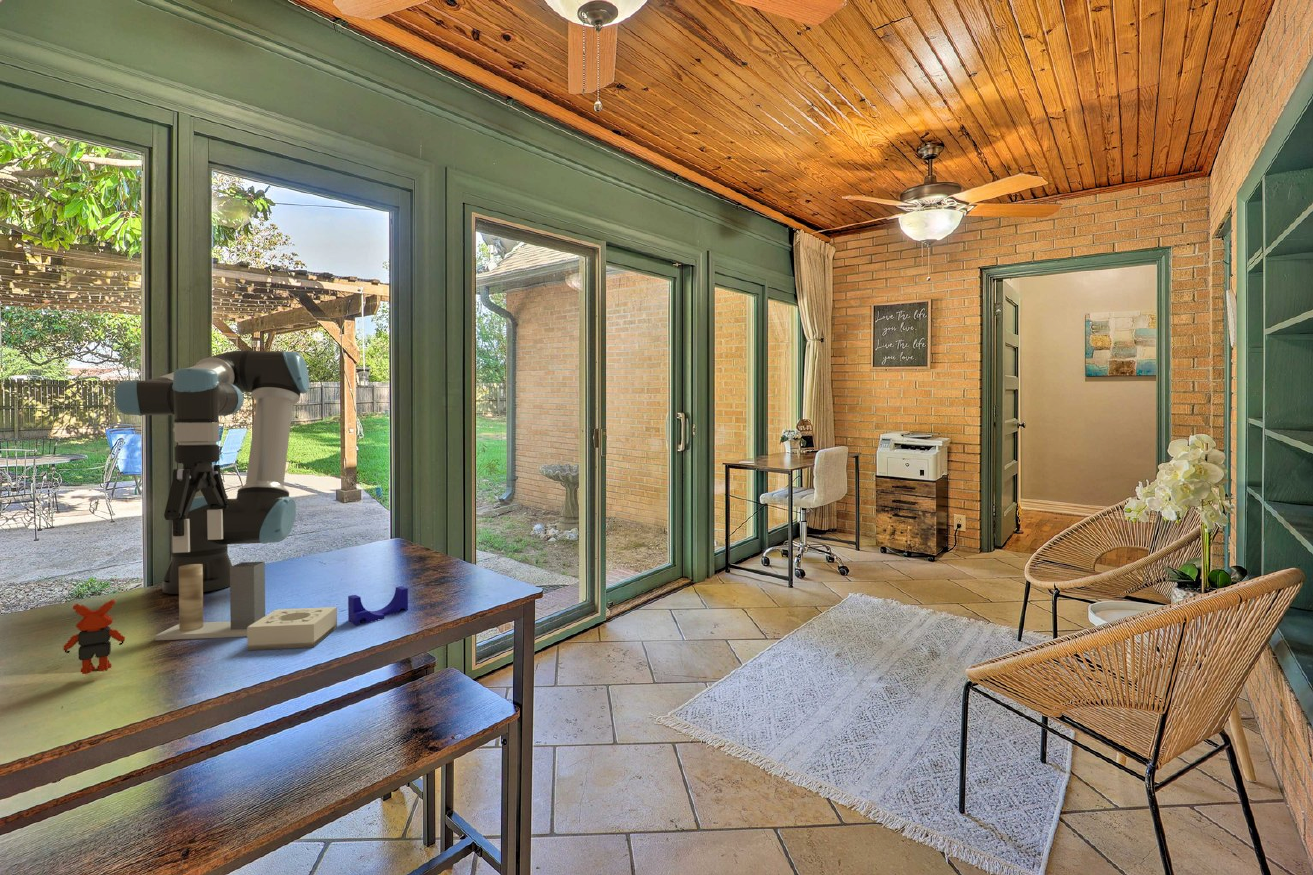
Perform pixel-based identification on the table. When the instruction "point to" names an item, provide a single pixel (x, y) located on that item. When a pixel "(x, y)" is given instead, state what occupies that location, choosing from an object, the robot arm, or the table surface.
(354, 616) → the blue curved cradle
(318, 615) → the socket block
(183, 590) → the beech dowel
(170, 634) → the strip
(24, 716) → the table surface
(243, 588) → the square bar
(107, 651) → the toy animal
